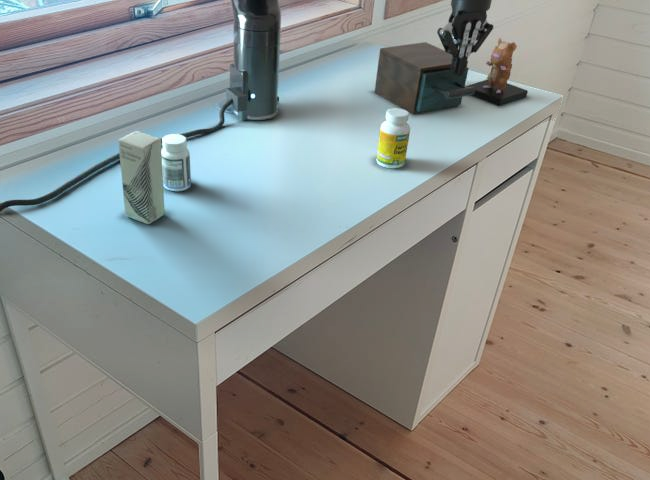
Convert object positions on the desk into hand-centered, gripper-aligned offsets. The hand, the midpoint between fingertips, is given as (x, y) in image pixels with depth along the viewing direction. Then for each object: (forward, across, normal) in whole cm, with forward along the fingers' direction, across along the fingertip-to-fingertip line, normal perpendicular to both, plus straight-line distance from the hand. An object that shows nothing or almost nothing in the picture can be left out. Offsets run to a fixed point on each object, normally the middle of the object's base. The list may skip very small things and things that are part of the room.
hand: (456, 74), depth 141 cm
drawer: (+8, 0, -7) cm, 10 cm away
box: (+8, +73, +14) cm, 75 cm away
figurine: (+9, -19, -6) cm, 22 cm away
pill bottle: (+8, +65, +6) cm, 66 cm away
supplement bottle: (+9, +25, +14) cm, 30 cm away
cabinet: (+9, 0, -11) cm, 14 cm away
